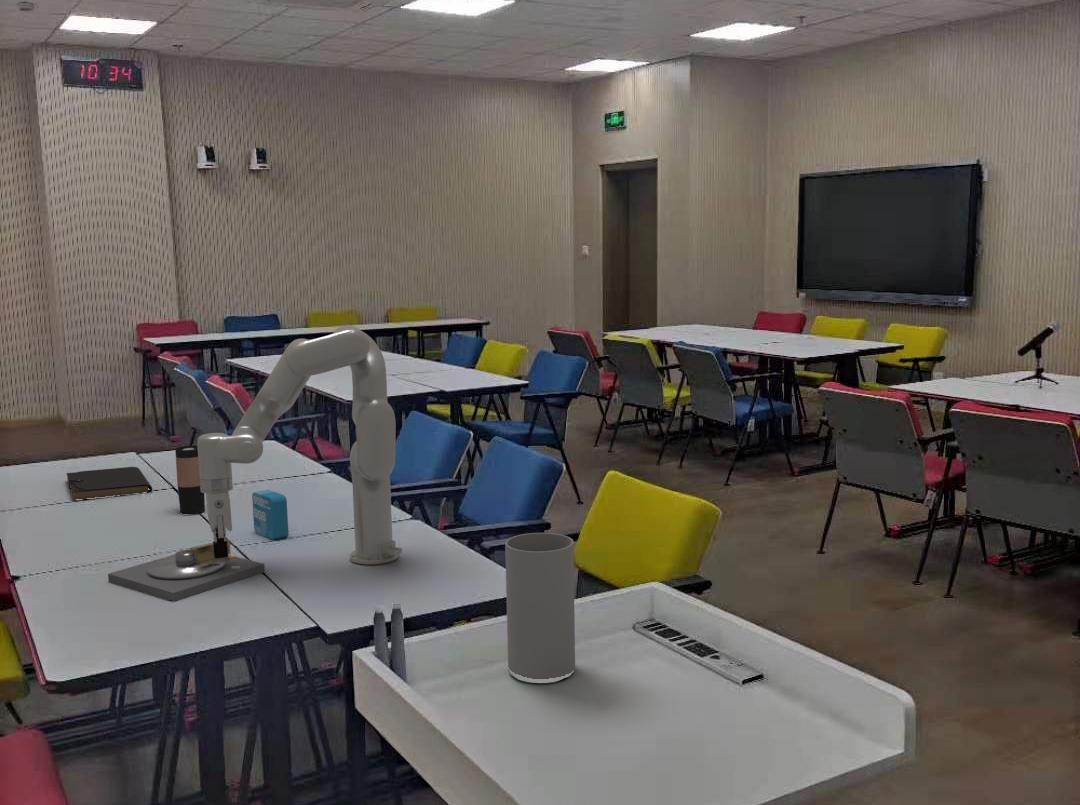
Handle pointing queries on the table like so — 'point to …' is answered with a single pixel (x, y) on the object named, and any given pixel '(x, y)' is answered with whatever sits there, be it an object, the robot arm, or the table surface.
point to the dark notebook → (107, 482)
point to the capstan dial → (188, 563)
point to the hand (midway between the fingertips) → (221, 557)
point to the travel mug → (189, 480)
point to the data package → (270, 514)
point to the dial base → (185, 587)
